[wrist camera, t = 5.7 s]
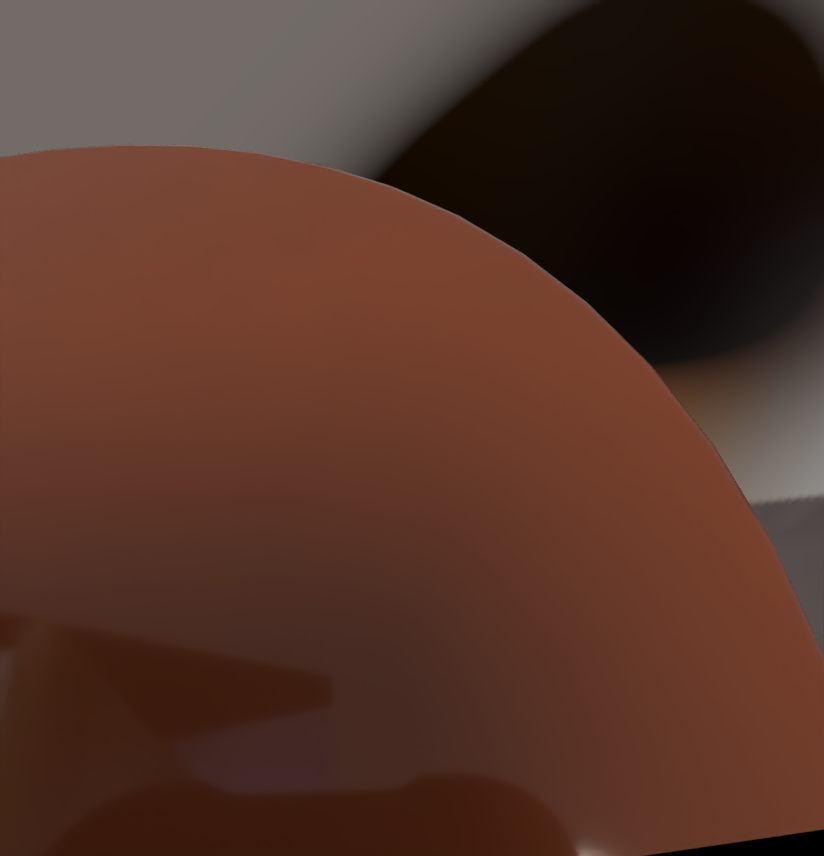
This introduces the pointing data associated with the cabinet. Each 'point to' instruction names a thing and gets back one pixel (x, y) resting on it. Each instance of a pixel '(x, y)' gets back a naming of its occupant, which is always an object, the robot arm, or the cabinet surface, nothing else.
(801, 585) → the cabinet surface
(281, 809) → the terracotta cylinder canister
